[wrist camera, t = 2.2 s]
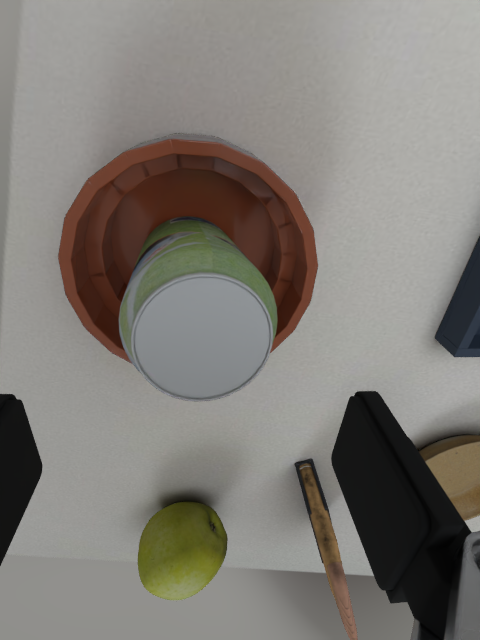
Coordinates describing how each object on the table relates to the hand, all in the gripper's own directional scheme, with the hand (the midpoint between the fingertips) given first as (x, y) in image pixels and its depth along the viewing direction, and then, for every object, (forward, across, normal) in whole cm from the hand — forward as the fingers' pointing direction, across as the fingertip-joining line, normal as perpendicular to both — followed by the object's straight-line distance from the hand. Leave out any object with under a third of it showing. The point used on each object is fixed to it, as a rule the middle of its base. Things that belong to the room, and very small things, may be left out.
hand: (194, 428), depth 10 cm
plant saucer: (+15, -28, +23) cm, 39 cm away
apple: (+15, +1, +28) cm, 32 cm away
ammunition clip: (+15, -13, +26) cm, 33 cm away
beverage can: (+14, 0, -1) cm, 15 cm away
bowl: (+15, 0, -1) cm, 15 cm away
